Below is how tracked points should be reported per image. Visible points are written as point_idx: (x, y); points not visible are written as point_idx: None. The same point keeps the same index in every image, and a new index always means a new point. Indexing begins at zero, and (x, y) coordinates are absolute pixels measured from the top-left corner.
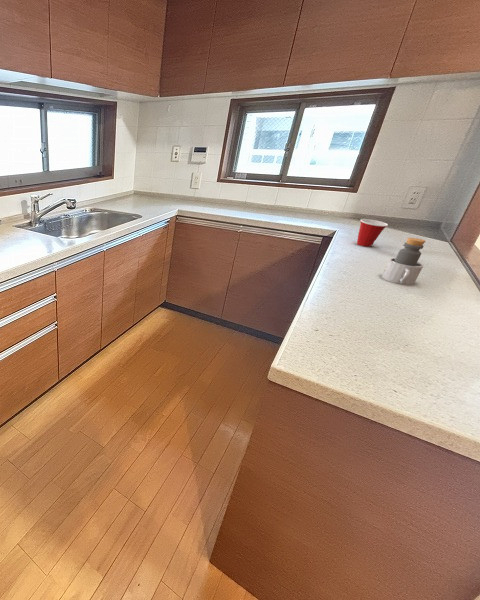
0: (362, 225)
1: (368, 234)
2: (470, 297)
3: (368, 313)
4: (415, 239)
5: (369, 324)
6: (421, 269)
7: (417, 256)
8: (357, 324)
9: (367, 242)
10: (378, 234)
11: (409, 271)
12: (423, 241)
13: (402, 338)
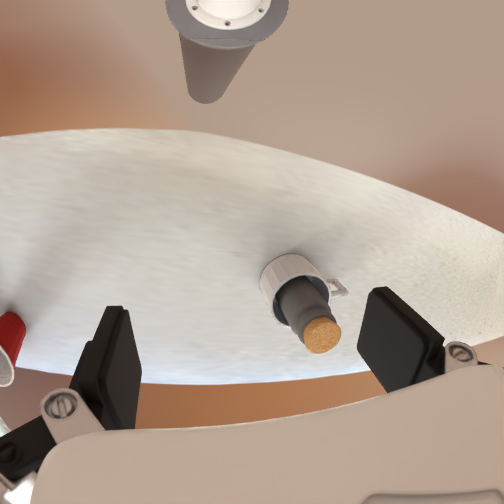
0: (10, 374)
1: (17, 347)
2: (325, 167)
3: (448, 307)
4: (325, 340)
5: (467, 303)
6: (309, 269)
7: (326, 302)
8: (469, 311)
9: (21, 329)
10: (2, 329)
11: (347, 292)
12: (338, 326)
13: (483, 278)
